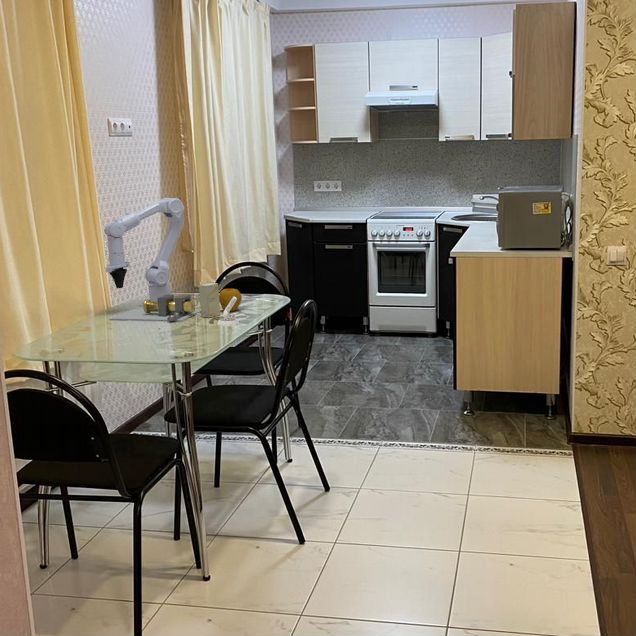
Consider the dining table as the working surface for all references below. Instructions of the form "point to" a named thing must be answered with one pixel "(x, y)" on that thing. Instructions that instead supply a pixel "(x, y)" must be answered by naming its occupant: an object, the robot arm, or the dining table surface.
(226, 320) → the white lever switch
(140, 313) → the mat
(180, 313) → the chain end
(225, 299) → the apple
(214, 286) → the skincare box
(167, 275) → the robot arm
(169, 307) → the pin
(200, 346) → the dining table surface
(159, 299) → the chain end
